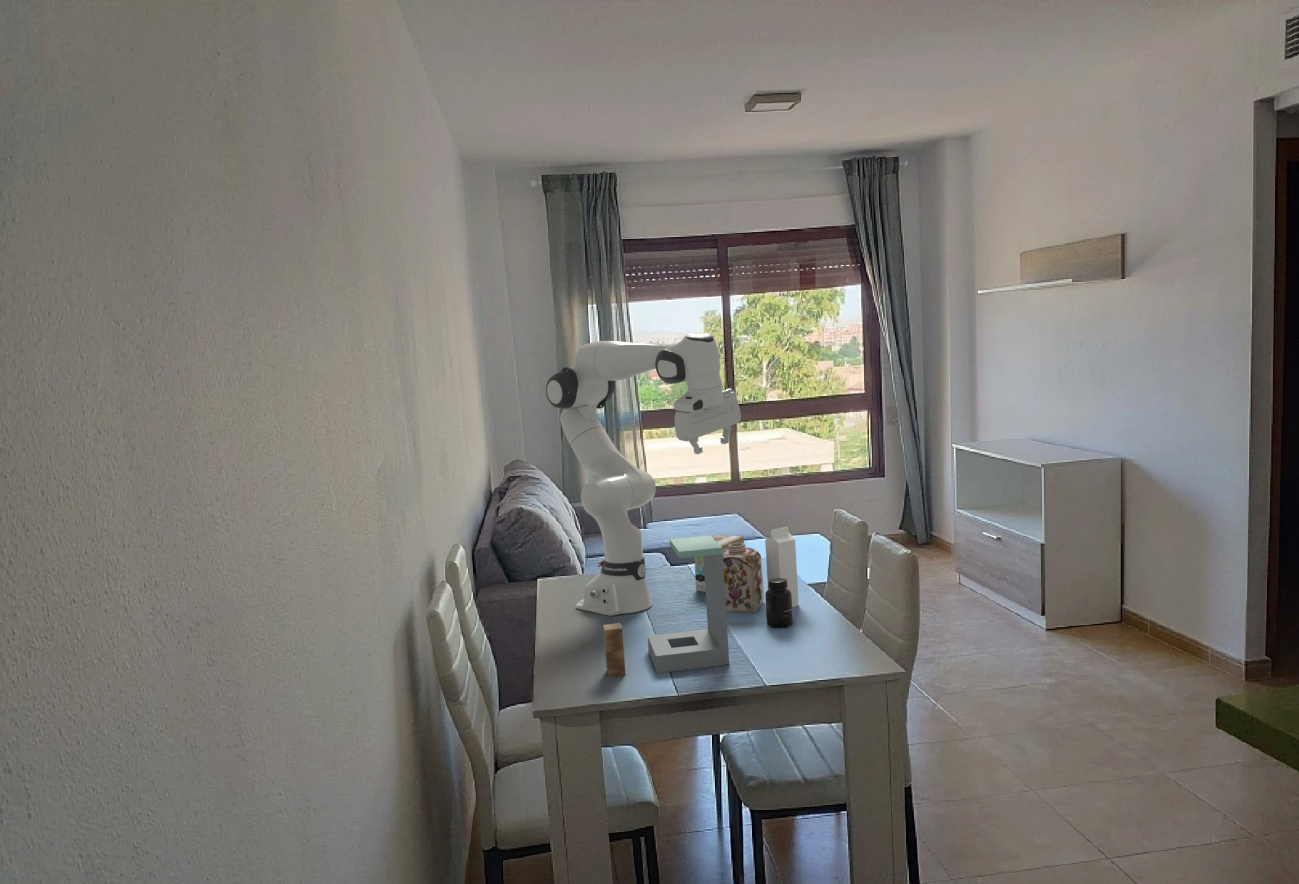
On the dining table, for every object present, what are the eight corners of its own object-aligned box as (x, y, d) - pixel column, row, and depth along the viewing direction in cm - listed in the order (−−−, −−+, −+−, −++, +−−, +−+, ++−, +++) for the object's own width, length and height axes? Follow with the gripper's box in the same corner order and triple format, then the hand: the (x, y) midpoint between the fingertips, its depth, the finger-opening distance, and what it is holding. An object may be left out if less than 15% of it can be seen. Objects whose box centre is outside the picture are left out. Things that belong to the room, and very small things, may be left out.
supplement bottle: (792, 629, 225) (790, 583, 224) (765, 629, 227) (763, 583, 225) (793, 620, 232) (791, 576, 231) (767, 620, 233) (765, 576, 232)
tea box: (724, 594, 261) (721, 545, 260) (695, 591, 266) (692, 543, 265) (746, 581, 274) (744, 535, 272) (718, 579, 279) (715, 533, 278)
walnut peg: (608, 676, 201) (604, 630, 200) (606, 670, 205) (603, 624, 204) (625, 674, 201) (622, 628, 200) (623, 668, 205) (620, 623, 204)
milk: (798, 605, 245) (795, 528, 242) (781, 610, 242) (777, 531, 240) (785, 601, 250) (781, 525, 248) (768, 605, 247) (764, 528, 245)
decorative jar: (756, 613, 240) (752, 549, 238) (715, 612, 244) (711, 549, 242) (765, 601, 251) (761, 539, 250) (725, 600, 255) (721, 539, 253)
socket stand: (657, 672, 201) (648, 555, 198) (648, 651, 216) (640, 541, 213) (729, 664, 203) (722, 547, 200) (716, 643, 218) (709, 535, 215)
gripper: (726, 386, 232) (731, 436, 236) (668, 405, 220) (674, 457, 224) (743, 388, 227) (748, 439, 231) (685, 407, 215) (691, 461, 219)
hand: (711, 448), depth 228 cm, fingers open, 8 cm apart
